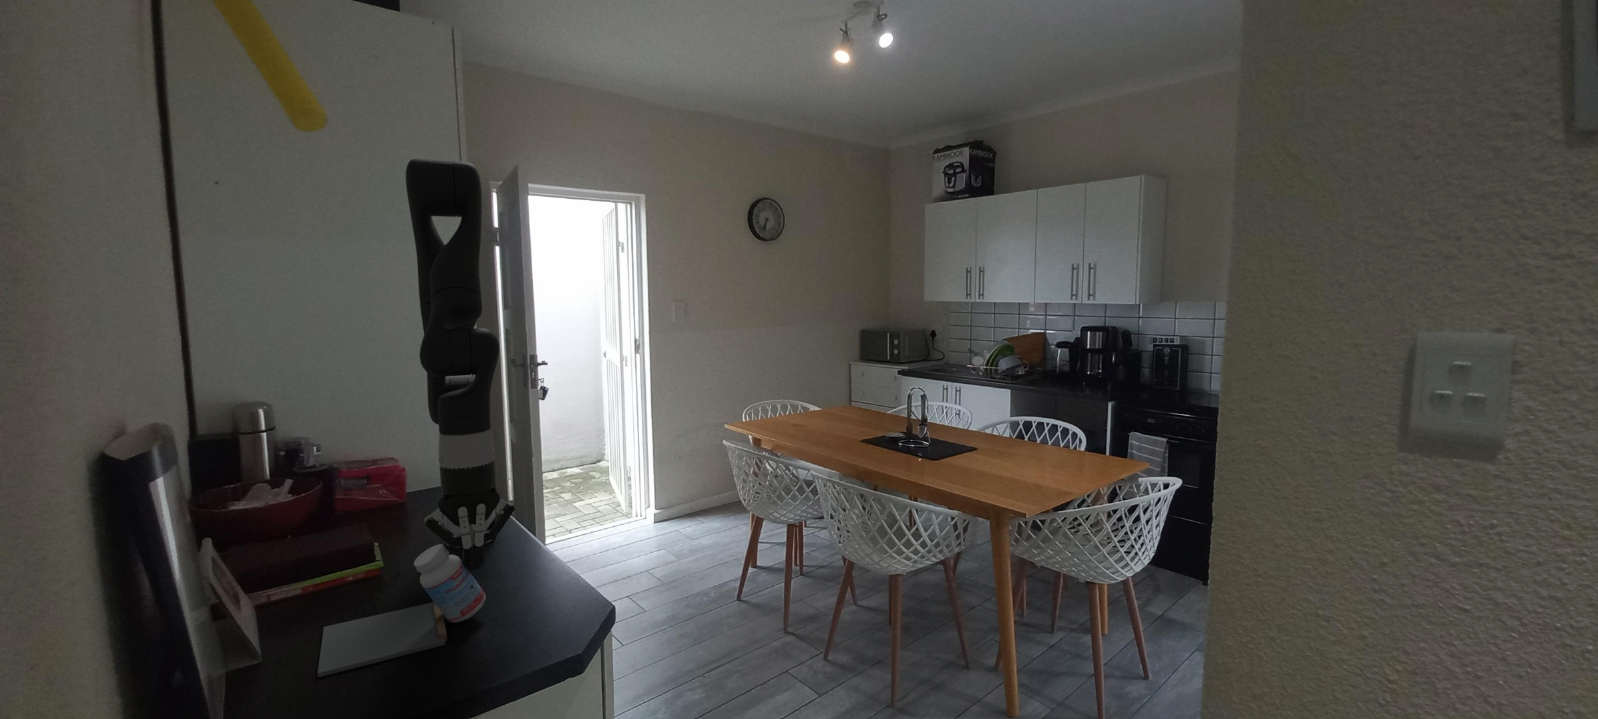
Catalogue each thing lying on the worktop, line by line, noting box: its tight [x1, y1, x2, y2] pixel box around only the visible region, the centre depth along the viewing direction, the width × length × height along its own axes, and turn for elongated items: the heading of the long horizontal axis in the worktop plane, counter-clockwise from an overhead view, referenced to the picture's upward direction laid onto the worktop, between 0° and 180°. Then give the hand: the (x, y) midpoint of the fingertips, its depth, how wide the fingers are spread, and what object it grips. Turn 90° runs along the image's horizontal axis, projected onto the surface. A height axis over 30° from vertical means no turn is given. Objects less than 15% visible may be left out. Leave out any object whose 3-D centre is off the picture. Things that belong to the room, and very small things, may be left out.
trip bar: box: [432, 600, 448, 642], centre depth 102 cm, size 12×1×1 cm, turn 32°
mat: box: [317, 602, 446, 678], centre depth 98 cm, size 14×15×1 cm
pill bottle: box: [413, 543, 487, 623], centre depth 102 cm, size 6×6×11 cm
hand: (473, 568), depth 104 cm, fingers closed
